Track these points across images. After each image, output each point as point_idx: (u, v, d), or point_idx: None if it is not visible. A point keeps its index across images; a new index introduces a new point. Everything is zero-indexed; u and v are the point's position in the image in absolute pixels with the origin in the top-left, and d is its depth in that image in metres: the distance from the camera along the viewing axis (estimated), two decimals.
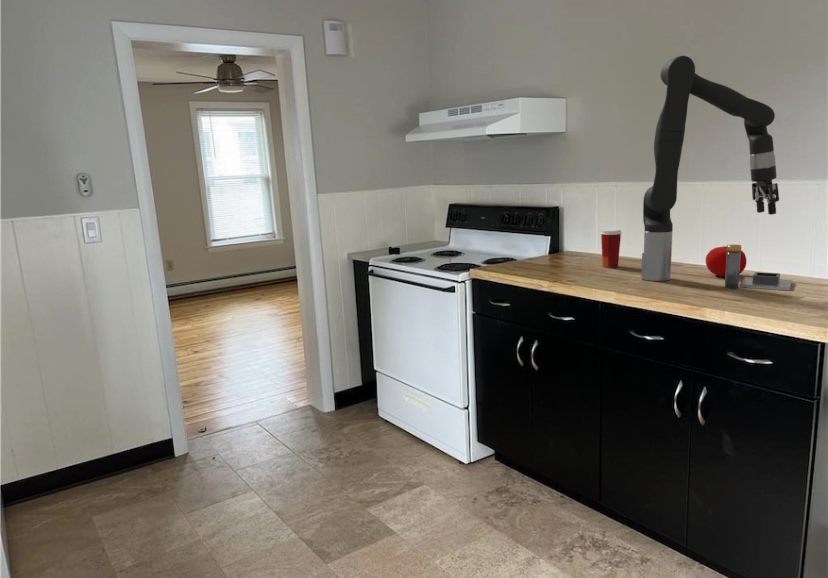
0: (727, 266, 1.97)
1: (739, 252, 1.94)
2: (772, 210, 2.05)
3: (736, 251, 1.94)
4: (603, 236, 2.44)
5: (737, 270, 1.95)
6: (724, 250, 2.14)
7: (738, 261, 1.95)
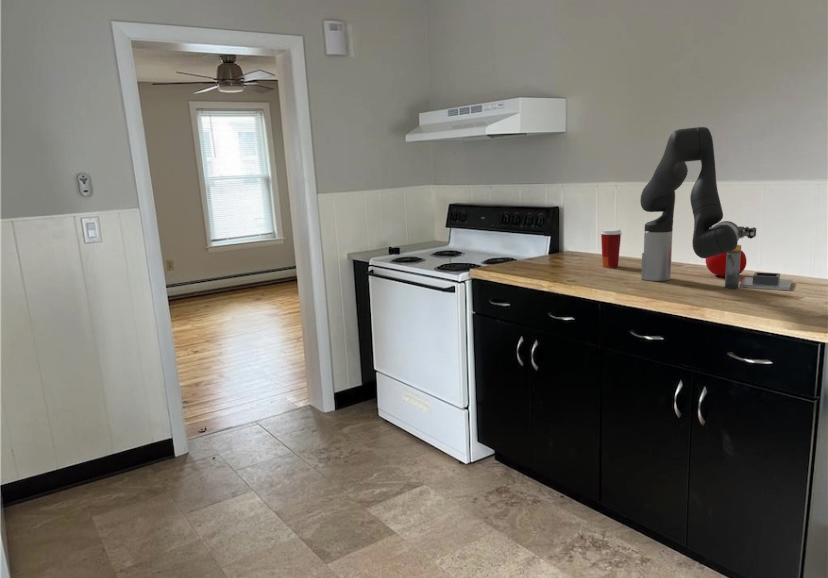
0: (727, 266, 1.97)
1: (739, 252, 1.94)
2: None
3: (736, 251, 1.94)
4: (603, 236, 2.44)
5: (737, 270, 1.95)
6: None
7: (738, 261, 1.95)
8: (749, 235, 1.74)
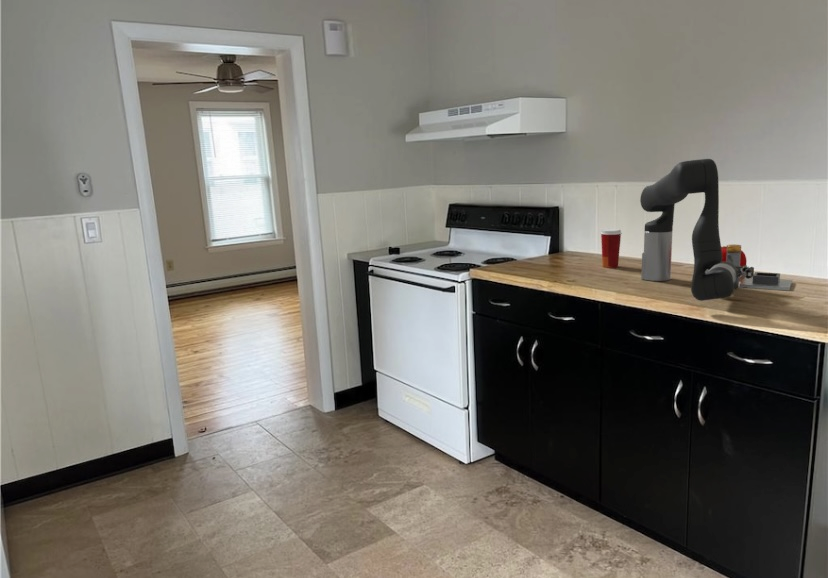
0: None
1: (739, 252, 1.94)
2: None
3: (736, 251, 1.94)
4: (603, 236, 2.44)
5: None
6: (724, 250, 2.14)
7: (738, 261, 1.95)
8: (747, 275, 1.81)
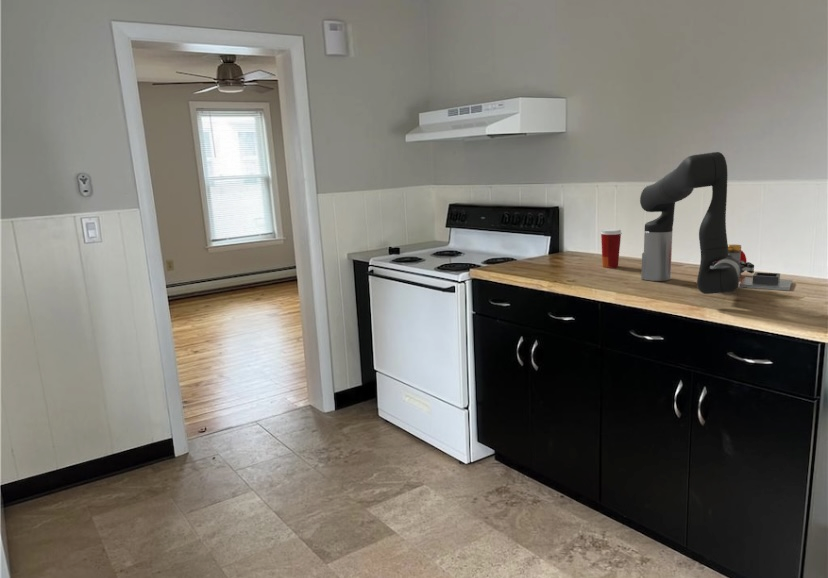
0: None
1: (739, 252, 1.94)
2: None
3: (736, 251, 1.94)
4: (603, 236, 2.44)
5: None
6: None
7: None
8: (751, 270, 1.88)
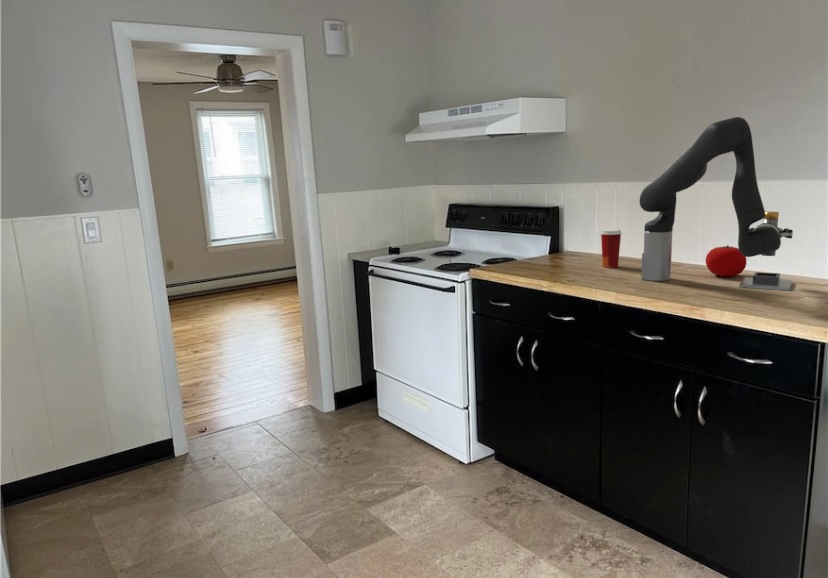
0: None
1: (776, 218, 1.94)
2: None
3: (773, 217, 1.94)
4: (603, 236, 2.44)
5: None
6: (724, 250, 2.14)
7: None
8: (789, 235, 1.88)
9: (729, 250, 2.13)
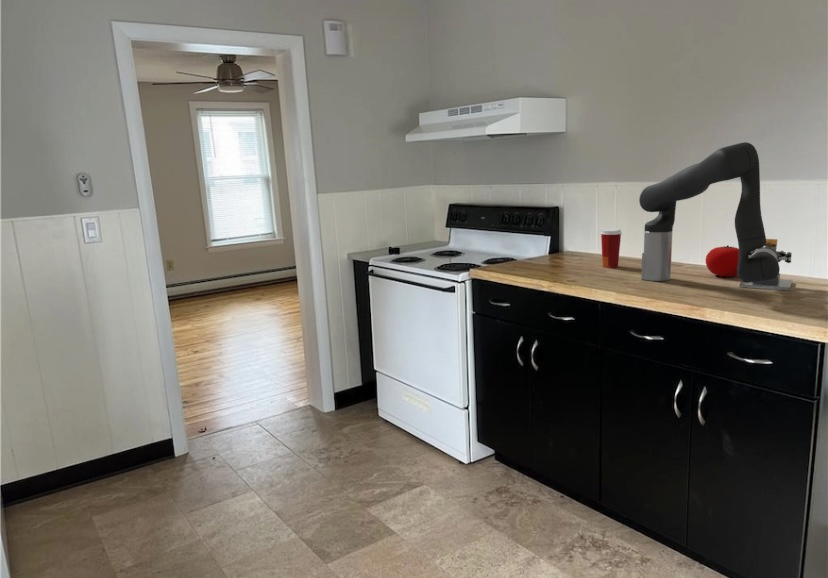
0: None
1: (775, 246, 1.97)
2: None
3: (772, 245, 1.96)
4: (603, 236, 2.44)
5: None
6: (724, 250, 2.14)
7: None
8: (787, 260, 1.89)
9: (729, 250, 2.13)
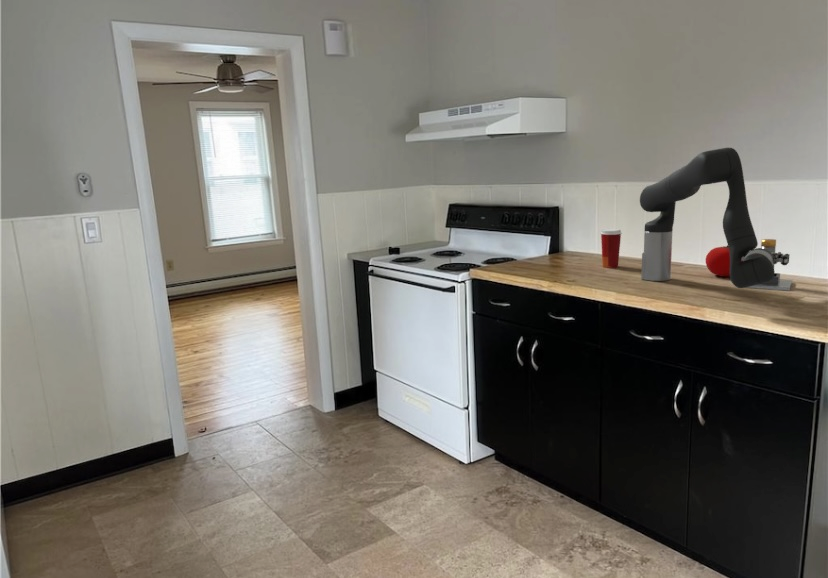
0: None
1: (774, 246, 1.96)
2: None
3: (771, 245, 1.96)
4: (603, 236, 2.44)
5: None
6: (724, 250, 2.14)
7: None
8: (783, 262, 1.78)
9: None
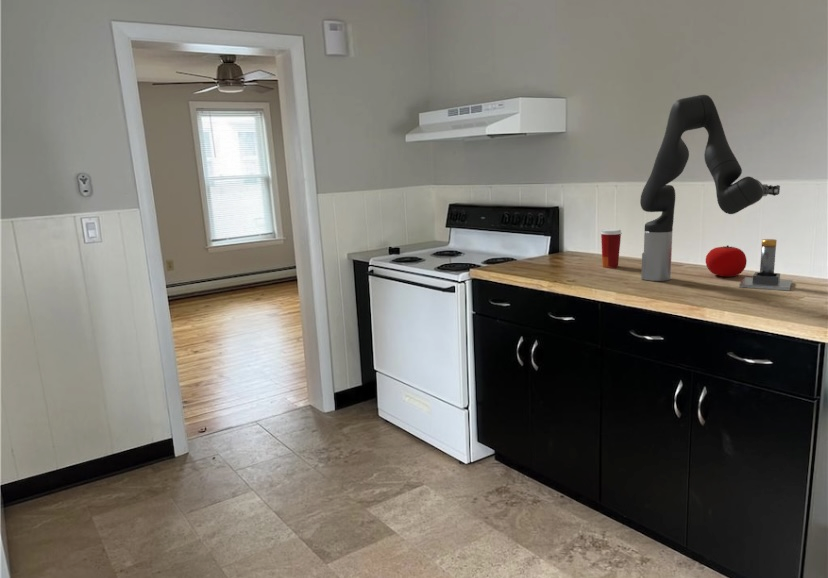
0: (762, 260, 1.98)
1: (774, 246, 1.96)
2: None
3: (771, 245, 1.96)
4: (603, 236, 2.44)
5: (772, 264, 1.97)
6: (724, 250, 2.14)
7: (773, 255, 1.97)
8: (773, 192, 1.74)
9: (729, 250, 2.13)
